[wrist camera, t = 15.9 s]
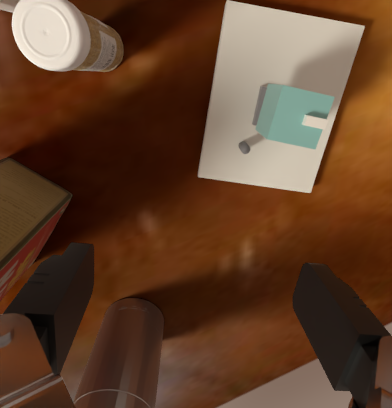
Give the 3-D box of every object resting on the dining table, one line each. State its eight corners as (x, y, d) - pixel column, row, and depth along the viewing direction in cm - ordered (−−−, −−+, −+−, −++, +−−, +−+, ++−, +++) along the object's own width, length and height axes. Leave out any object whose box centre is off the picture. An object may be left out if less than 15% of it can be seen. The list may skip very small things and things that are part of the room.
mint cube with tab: (255, 129, 30) (268, 140, 25) (268, 83, 28) (285, 85, 23) (296, 138, 30) (318, 151, 25) (311, 93, 29) (338, 97, 24)
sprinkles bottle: (102, 13, 30) (40, -30, 18) (133, 52, 32) (96, 37, 19) (71, 45, 31) (-7, 25, 19) (103, 82, 33) (50, 86, 20)
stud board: (306, 188, 38) (320, 203, 34) (197, 173, 37) (198, 186, 33) (357, 28, 31) (384, 20, 27) (225, 3, 30) (231, -9, 26)
